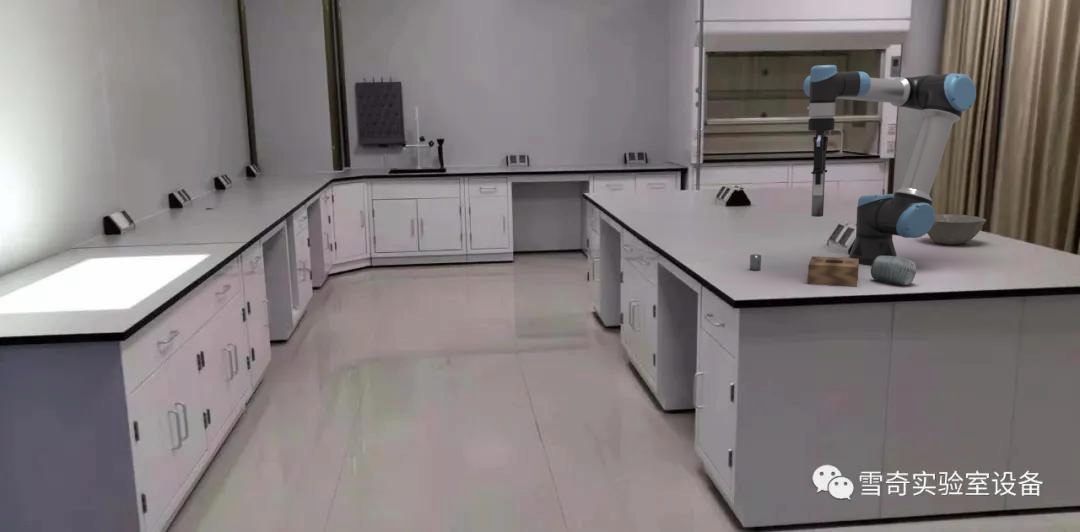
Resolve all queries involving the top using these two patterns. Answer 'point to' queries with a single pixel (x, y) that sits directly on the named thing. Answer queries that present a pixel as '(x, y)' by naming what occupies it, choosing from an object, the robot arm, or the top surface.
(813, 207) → the long pin
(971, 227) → the ceramic bowl
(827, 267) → the socket block
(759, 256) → the short pin
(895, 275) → the spool
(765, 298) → the top surface
